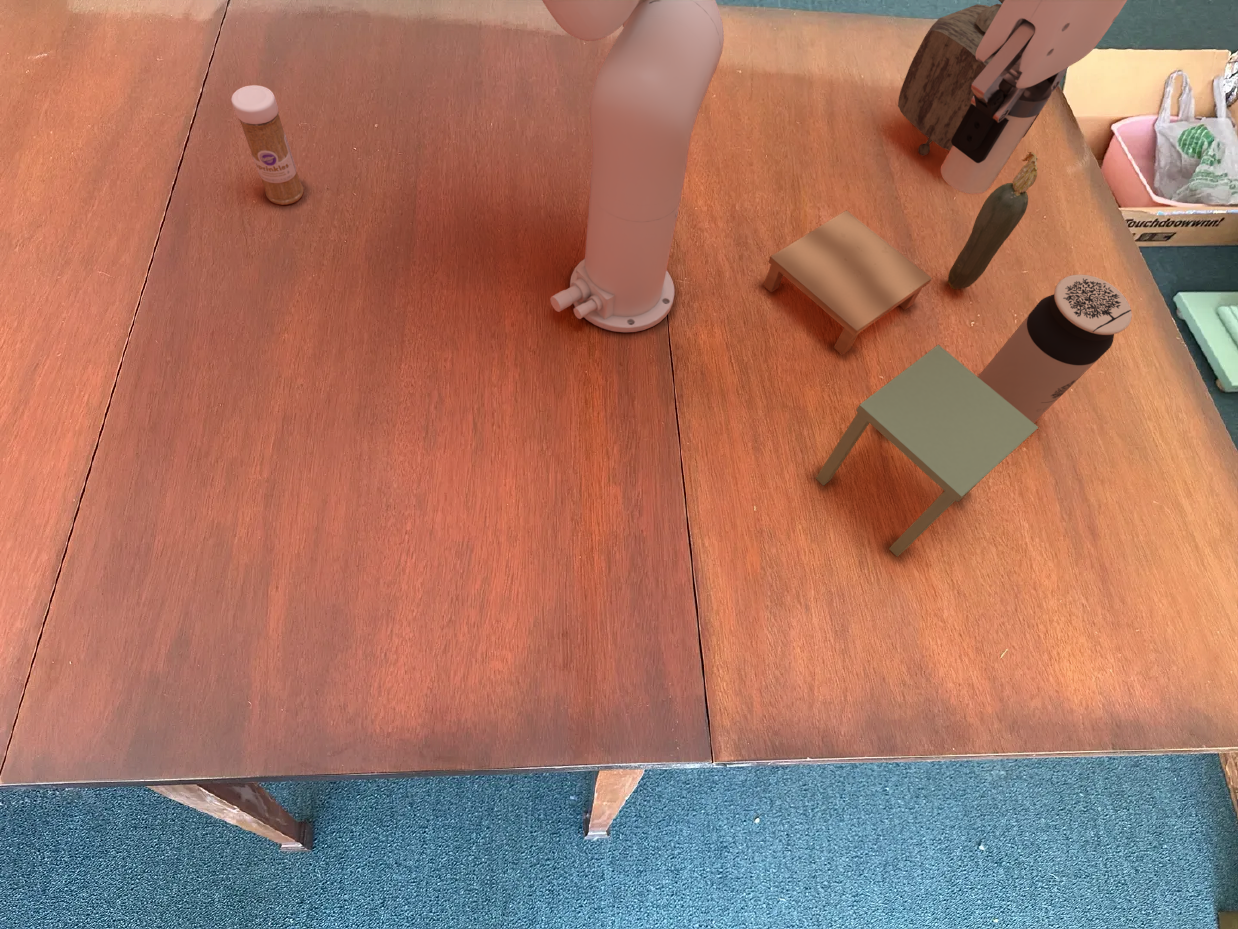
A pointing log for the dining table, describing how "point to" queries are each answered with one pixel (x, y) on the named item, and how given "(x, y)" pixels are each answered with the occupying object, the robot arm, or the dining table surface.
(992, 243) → the vegetable
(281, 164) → the sprinkles bottle
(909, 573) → the dining table surface
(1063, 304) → the travel mug
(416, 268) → the dining table surface
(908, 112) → the tabletop clock
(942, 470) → the tall stand
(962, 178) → the spice jar
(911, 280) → the low shelf
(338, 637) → the dining table surface
